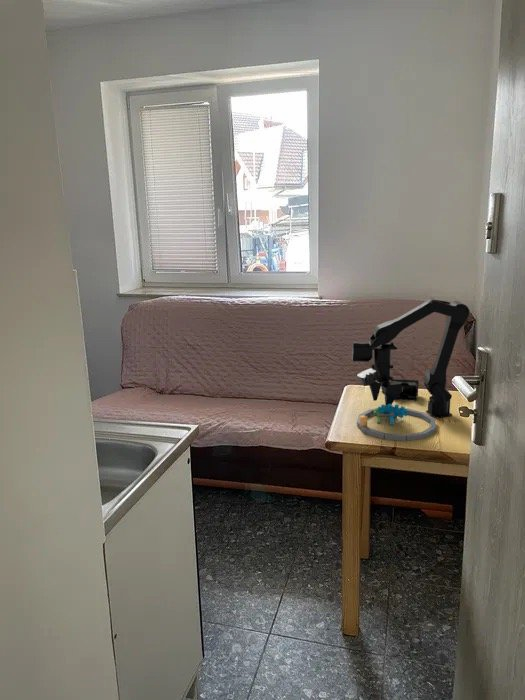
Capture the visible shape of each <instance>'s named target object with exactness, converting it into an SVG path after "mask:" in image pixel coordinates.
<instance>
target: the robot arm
mask: <svg viewBox="0 0 525 700" xmlns="http://www.w3.org/2000/svg"><path fill="white" fill-rule="evenodd" d="M470 312H471V311H470V309H469V307H468V306H467V305H466V304H464V303H463V302H461V301H459V300H453V301H451V302H450V301H447V300H440V299H435V298H431V297H430V298H428V299H427V300H426V301H425V302H423V303H420V304H419V305H418V306H416V307H414V308H412V309H410V310H409V311H408V312H406V313H404V314H402V315H400V316H399V317H397V318H395V319H391V320H386V321H384V322H383V323H382V322H381V323H379V324H377V325H376V326H375V327H374V329H373V333H372V335H371V336H370V337H369V338H368V340H367V342H365V341H364V342H363V341H361V342H358V341H353V342H352V349H351V362H352V363H368V362H370V361H371V360H372V359H373V363H371V364H370V368H368V369H365V370H362V371H360V372H359V373H357V374H356V376H357V379H358V381H359V384H361V385H362V386H364V387H366V386H369V389H370V393H371V396H372V399H373V401H374V402H375V401H377V400H378V398H379V394H380V392H381V394H383V395H384V405H385V406H387V404H392V405H393V403H394V402H395V398H396V397H397V395H398V394H399V393H401V392H403V386H402V385H401V384H400V383H398V382H397V381H391V380H393V379H394V377H393V376H392V375H391V372H392V369H393V368H394V365H393V364H392V350H394V351H395V350H398V347H397V345H396V344H394V341H393V340H394V339H395V338H397V336H399V335H400V333H401V332H402V331H404V330H405V329H407V328H408V327H410V326H412V325H414V324H415V323H418V322H419V321H420V320H423V319H424V318H426V317H428V316H430V315H432V314H433V313H438V314H441V315H444V316H445V328H444V332H443V334H442V337H441V341H440V345H439V348H438V351H437V354H436V357H435V359H434V360H435V361H434V364H433V366H432V367H431V369H428V368H426V369H425V374H424V377H423V378H422V380H423V384H424V387H425V389H426V390H427V391H428V393H429V394H430V395H431V396H428V397H429V399H428V403H427V410H425V413H426V414H428V415H429V416H431V417H432V418H434V419H439V418H440V419H441V418H447V417H452V416H453V414H452V413H451V410H450V409H451V400H452V397H453V396H452V394H451V392H450V391H449V389H447V387H446V386H447V370H448V366H449V364H450V360H451V357H452V355H453V351H454V348H455V346H456V345H455V344H456V341H457V339H458V335H459V333H460V330H461V329H463V327H464V326H465V324H466V322H467V320H468V319H469V316H470Z"/></svg>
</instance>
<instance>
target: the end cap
mask: <svg viewBox="0 0 525 700" xmlns="http://www.w3.org/2000/svg"><path fill="white" fill-rule="evenodd" d="M390 381H397V382H398V383H400V384H401V385H402V386H403V392H401V393H399V394H398V395H397V397H396V398H395V400H397V401H410V400H414V402H416V400H417V397H418V396H419V380H418V379H398V378H397V379H396V378H393V380H390ZM395 400H394V401H395ZM417 401H418V400H417Z"/></svg>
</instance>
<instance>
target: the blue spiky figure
mask: <svg viewBox="0 0 525 700" xmlns="http://www.w3.org/2000/svg"><path fill="white" fill-rule="evenodd" d="M399 406H400V405H399V404H394V406H393V403H392V404H387V406H386V405H385V404H381V406H378V407H377V408H378V410H377V409H376V408H373V409H374V415H375V417H376V418H377V419H376V420H377V421H376V423H377V424H380V418H386V419H389V425H390V426H394V419H398V418H399V419H403V418H404V417H407V416H408V414H407V413H408V410H407V409H405V408H406V407H405V406H400V407H399Z"/></svg>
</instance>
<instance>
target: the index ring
mask: <svg viewBox="0 0 525 700" xmlns="http://www.w3.org/2000/svg"><path fill="white" fill-rule="evenodd" d="M374 409H377V410H378V407H377V408H371V409H368V410H366V411H363V412H362V413H360V414H358V415H357V421H356V427H357V428H358V429H359V430H361V431H362V432H363V433H364V434H366V435H368V436H372V437H375V438H379V439H381V440H390V441H400V440H401V441H402V442H408V441H414V440H422V439H427V438H428V437H430V436H431V435H433V434H434V433H436V432H437V421H436V418H435V417H433V416H432V415H430V414H428V413H427V412H423V411H419V410H417V409H416V410H415V409H411V408H406V407H405V409H407V410H408V413H407V415H409V416H413V417H417V418H421V419H422V420H424V421H426V422H427V423H428V424H430V426H429V427H428V428H426V429H425V430H423V431H419V432H418V431H417V432H412V433H406V434H405V433H404V434H403V433H389V432H384V431H380V430H376V429H373V428H370V427H369V426H368V418H370V417H371V416H373V415H375V414H374Z"/></svg>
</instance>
